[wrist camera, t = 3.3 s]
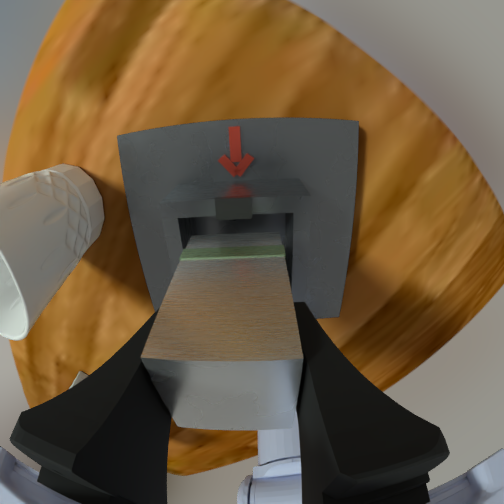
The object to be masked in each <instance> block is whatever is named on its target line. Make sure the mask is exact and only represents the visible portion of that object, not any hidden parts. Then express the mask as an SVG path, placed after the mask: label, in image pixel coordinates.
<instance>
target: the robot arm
mask: <svg viewBox="0 0 504 504" xmlns="http://www.w3.org/2000/svg"><path fill="white" fill-rule="evenodd" d="M293 303H294V308H295V314H296V319H297V325H298V330H299V336H300V342H301V347H302V353H303V365H302V372H301V379H300V386H299V392H298V399H297V405H296V411H295V417H294V422H293V428H290V429H273V430H258V466H255V467H253V475H248V476H247V477H246V478H245V479H244V480H243V481H242V482H241V484H240V486H239V489H238V495H237V504H504V449H500V450H498V451H497V452H496V453H494V454H492V455H491V456H489V457H488V458H486V459H485V460H483V461H481V462H480V463H478V464H477V465H475V466H474V467H472V468H471V469H469V470H468V471H467V472H466V473H464V474H462V475H460V476H458V477H456V478H455V479H453V480H451V481H449V482H447V483H444V484H443V485H440V486H438V487H436V488H434V489H432V490H429V491H428V489H427V486H426V483H428V482H429V480H430V478H429V475H428V472H429V471H430V470H432V469H433V468H435V467H436V466H438V465H439V464H440V463H442V462H443V461H444V460H445V459H446V458H447V457H448V455H449V453H450V452H449V450H448V446H447V444H446V440H445V438H444V436H443V434H442V432H441V430H440V428H439V427H437V426H436V425H434V424H431V423H430V422H428V421H426V420H424V419H422V418H420V417H418V416H416V415H414V414H413V413H411V412H410V411H408V410H407V409H405V408H404V407H402V406H401V405H399V404H398V403H396V402H395V401H394V400H392V399H391V398H390V397H388V396H387V395H386V394H384V393H383V392H382V391H381V390H379V389H378V388H377V387H376V386H374V385H373V384H372V383H371V382H370V381H369V380H368V379H367V378H365V377H364V376H363V375H362V374H361V373H360V372H359V371H358V370H357V369H356V368H355V367H354V366H353V365H352V364H351V363H350V362H349V361H348V359H347V358H346V357H345V356H344V355H343V354H342V353H341V351H340V350H339V349H338V348H337V347H336V345H335V344H334V343H333V342H332V340H331V339H330V338H329V337H328V335H327V334H326V333H325V331H324V330H323V329H322V327H321V326H320V324H319V323H318V321H317V320H316V318H315V317H314V315H313V314H312V312H311V311H310V309H309V307H308V306H307V304H306V303H305V302H293ZM159 309H160V308H159ZM159 309H158V310H157V311H156V312H155V313H154V314H153V315H152V316H151V317H150V318H149V319H148V320H147V322H146V323H145V324H144V325H143V326H142V327H141V328H140V329H139V330H138V331H137V332H136V333H135V334H134V335H133V337H132V338H131V339H130V340H129V341H128V342H127V343H126V344H125V345H124V346H123V347H121V348H120V349H119V350H118V351H117V352H116V353H115V354H114V355H113V356H112V357H111V358H110V359H109V360H108V361H107V362H105V363H104V364H103V365H102V366H101V367H99V368H98V369H97V370H96V371H94V372H93V373H92V374H90V375H89V376H88V377H86V378H85V379H83V380H82V381H80V382H79V383H78V384H76V385H75V386H73V387H72V388H70V389H69V390H67V391H65V392H63V393H62V394H60V395H58V396H56V397H54V398H53V399H51V400H49V401H47V402H45V403H43V404H40V405H38V406H36V407H33V408H31V409H28V410H26V411H23V412H21V415H20V417H19V419H18V421H17V423H16V426H15V428H14V430H13V433H12V434H11V437H10V441H11V443H12V444H13V445H14V446H15V447H16V448H18V449H19V450H20V451H21V452H23V453H24V454H26V455H27V456H28V457H30V458H31V459H32V460H34V461H35V462H37V463H38V464H39V465H41V466H42V467H41V470H40V472H38V471H36V470H34V469H33V468H31V467H29V466H28V465H26V464H24V463H23V462H21V461H19V460H18V459H16V458H15V457H14V456H13V455H12V454H10V453H9V452H8V451H6V450H5V449H4V448H2V447H1V446H0V504H167V456H168V443H169V433H170V424H171V418H172V416H171V414H170V413H169V411H168V409H167V407H166V406H165V404H164V402H163V400H162V399H161V397H160V395H159V393H158V391H157V389H156V387H155V386H154V384H153V382H152V380H151V378H150V376H149V374H148V372H147V370H146V368H145V366H144V364H143V362H142V359H141V355H142V352H143V349H144V347H145V344H146V342H147V339H148V336H149V334H150V331H151V329H152V326H153V324H154V321H155V319H156V316H157V314H158V311H159Z"/></svg>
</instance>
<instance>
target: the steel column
mask: <svg viewBox="0 0 504 504" xmlns="http://www.w3.org/2000/svg"><path fill="white" fill-rule="evenodd" d="M179 260H180V262H179V264H178V267H177V269H176V271H175V273H174V276H173V278H172V280H171V283H170V285H169V287H168V290H167V292H166V294H165V297H164V299H163V302H162V304H161V306H160V309H159V311H158V314H157V316H156V319H155V321H154V324H153V326H152V329H151V331H150V334H149V336H148V339H147V342H146V344H145V347H144V349H143V352H142V355H141V359H142V362H143V364H144V366H145V368H146V370H147V372H148V374H149V376H150V378H151V380H152V382H153V384H154V386H155V387H156V389H157V391H158V393H159V395H160V397H161V399H162V400H163V402H164V404H165V406H166V407H167V409H168V411H169V413H170V414H171V416H172V418H173V419H174V421H175V423H176V424H177V426H178V427H186V428H198V429H214V430H273V429H290V428H293V422H294V417H295V411H296V405H297V399H298V392H299V386H300V379H301V372H302V365H303V353H302V347H301V342H300V336H299V330H298V325H297V319H296V314H295V308H294V303H293V297H292V292H291V287H290V282H289V277H288V271H287V266H286V254H285V249H284V245H282V242H281V237H280V232H265V233H239V234H216V235H195V236H191V238H190V240H189V242H188V244H187V247H186V249H183V251H182V254H181V256H180V258H179Z"/></svg>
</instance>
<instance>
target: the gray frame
mask: <svg viewBox="0 0 504 504" xmlns="http://www.w3.org/2000/svg"><path fill="white" fill-rule="evenodd" d="M358 131H359V121H352V120H339V119H322V118H250V119H232V120H219V121H208V122H198V123H189V124H181V125H174V126H167V127H161V128H155V129H149V130H143V131H138V132H133V133H128V134H123V135H119V136H117V139H118V147H119V155H120V162H121V168H122V175H123V181H124V187H125V192H126V198H127V203H128V208H129V213H130V218H131V223H132V227H133V232H134V236H135V240H136V245H137V249H138V253H139V257H140V261H141V265H142V268H143V272H144V276H145V279H146V283H147V286H148V290H149V293H150V297H151V300H152V303H153V306H154V310H155V312H156V311H157V310H158V309H159V308H160V306H161V304H162V302H163V299H164V297H165V294H166V292H167V290H168V287H169V285H170V283H171V280H172V278H173V276H174V273H175V271H176V269H177V267H178V264H179V262H180V260H179V258H180V256H181V254H182V251H183V249H186V247H187V244H188V242H189V240H190V238H191V236H195V235H216V234H239V233H265V232H280V237H281V242H282V245H284V249H285V254H286V266H287V271H288V277H289V282H290V287H291V292H292V297H293V302H305V303H306V304H307V306H308V307H309V309H310V311H311V312H312V314H313V315H314V317H315V318H316V319H319V318H332V317H339V314H340V309H341V303H342V298H343V292H344V286H345V280H346V273H347V267H348V260H349V252H350V244H351V236H352V227H353V218H354V207H355V195H356V181H357V163H358Z"/></svg>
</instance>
